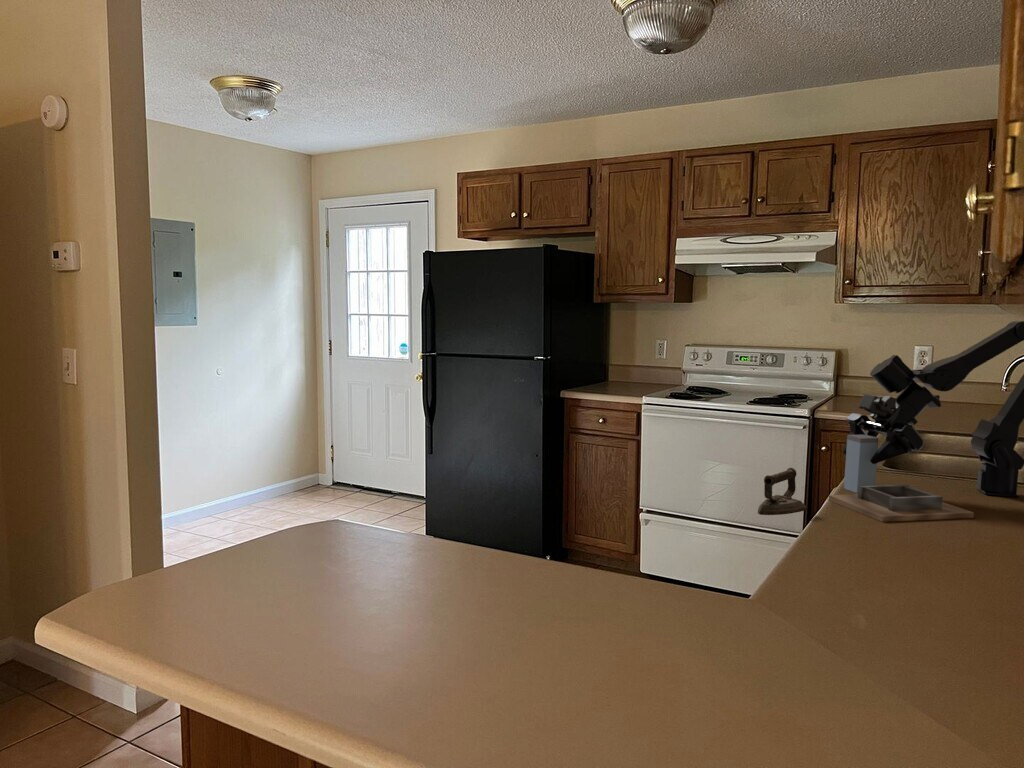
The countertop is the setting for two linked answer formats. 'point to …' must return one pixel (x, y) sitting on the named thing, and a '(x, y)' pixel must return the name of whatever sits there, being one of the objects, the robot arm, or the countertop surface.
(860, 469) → the block
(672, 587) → the countertop surface
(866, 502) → the jig cradle
